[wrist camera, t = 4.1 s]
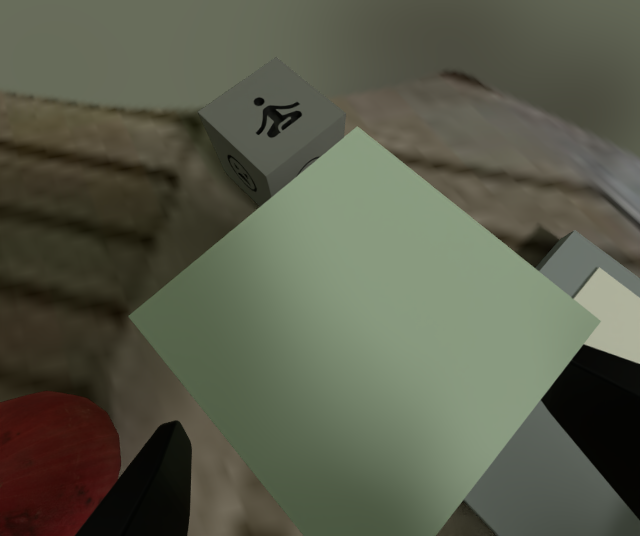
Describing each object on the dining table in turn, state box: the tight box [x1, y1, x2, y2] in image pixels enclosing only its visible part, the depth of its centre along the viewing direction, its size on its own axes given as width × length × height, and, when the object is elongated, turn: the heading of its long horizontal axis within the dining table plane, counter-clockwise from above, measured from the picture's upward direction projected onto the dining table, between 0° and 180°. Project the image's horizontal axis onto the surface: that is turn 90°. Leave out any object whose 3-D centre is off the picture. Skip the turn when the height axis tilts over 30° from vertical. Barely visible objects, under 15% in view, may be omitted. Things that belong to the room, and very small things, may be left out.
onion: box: [0, 391, 121, 536], centre depth 12 cm, size 6×6×8 cm
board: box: [463, 230, 640, 536], centre depth 16 cm, size 14×16×1 cm
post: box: [128, 126, 601, 536], centre depth 11 cm, size 5×5×13 cm
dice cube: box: [198, 57, 346, 207], centre depth 19 cm, size 5×5×5 cm
